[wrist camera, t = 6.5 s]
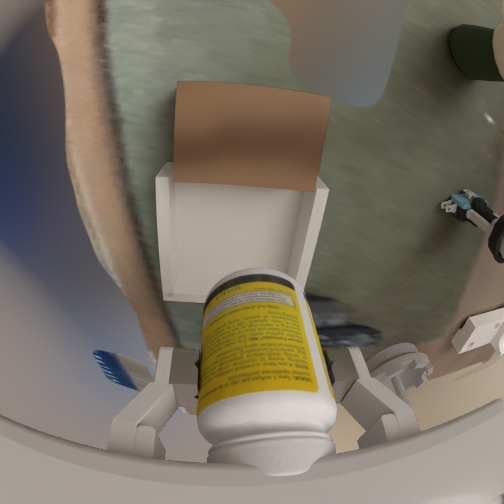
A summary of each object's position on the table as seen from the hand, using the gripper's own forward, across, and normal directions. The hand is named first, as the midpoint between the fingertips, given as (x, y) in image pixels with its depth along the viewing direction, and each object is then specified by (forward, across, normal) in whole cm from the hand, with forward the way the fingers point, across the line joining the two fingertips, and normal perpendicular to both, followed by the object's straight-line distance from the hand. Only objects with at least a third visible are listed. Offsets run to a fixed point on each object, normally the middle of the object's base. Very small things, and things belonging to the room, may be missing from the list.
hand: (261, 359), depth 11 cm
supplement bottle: (+3, 0, 0) cm, 3 cm away
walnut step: (+17, 0, -6) cm, 18 cm away
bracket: (+18, -47, +20) cm, 54 cm away
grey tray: (+17, 0, +4) cm, 18 cm away
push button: (+18, -25, -2) cm, 30 cm away
